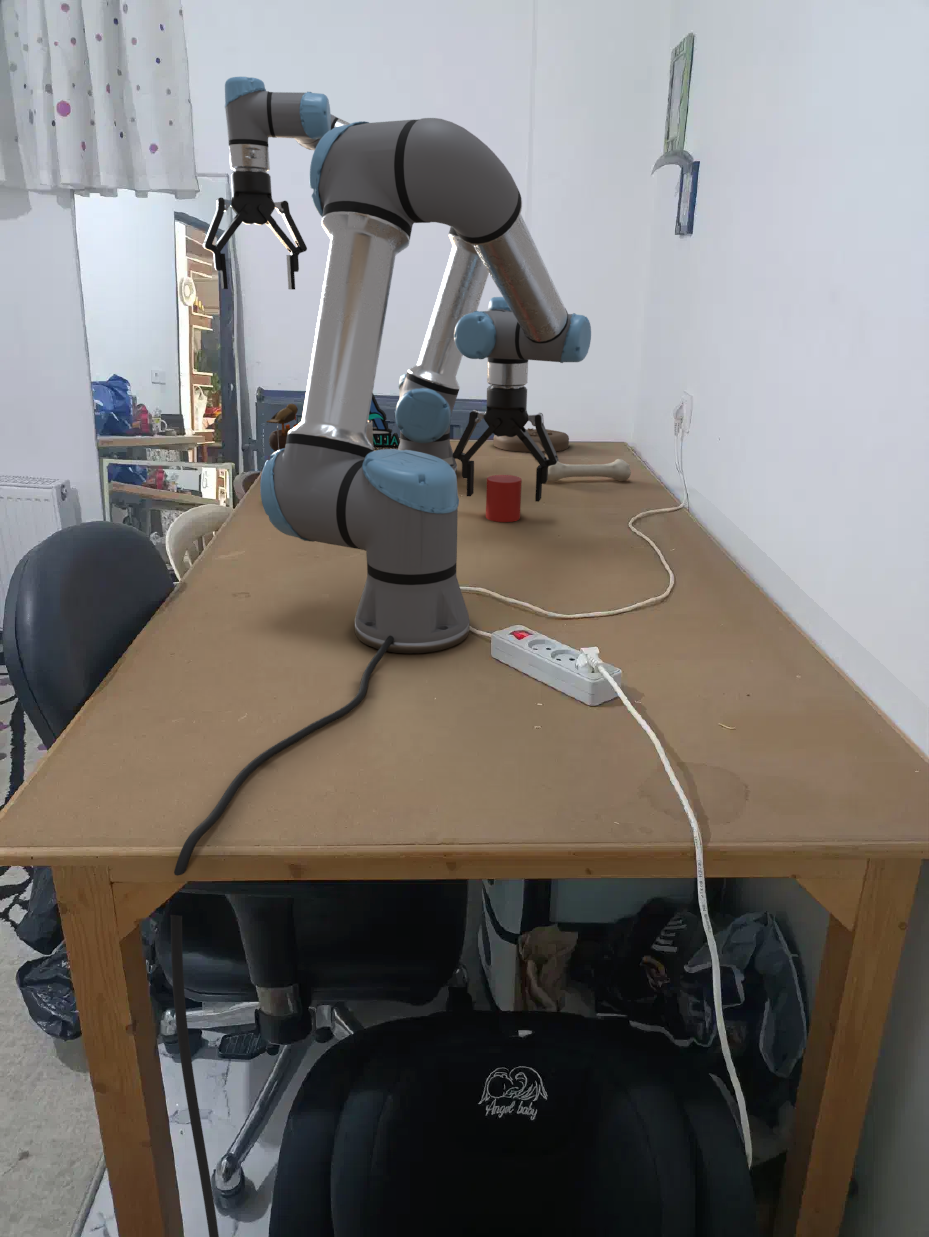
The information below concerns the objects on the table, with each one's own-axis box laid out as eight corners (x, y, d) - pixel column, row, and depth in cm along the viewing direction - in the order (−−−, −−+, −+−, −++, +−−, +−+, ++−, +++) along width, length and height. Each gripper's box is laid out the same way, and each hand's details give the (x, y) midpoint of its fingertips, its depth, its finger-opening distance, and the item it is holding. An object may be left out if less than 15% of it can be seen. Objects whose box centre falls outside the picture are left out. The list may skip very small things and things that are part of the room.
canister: (514, 523, 162) (515, 484, 159) (481, 520, 164) (482, 480, 162) (524, 515, 168) (525, 476, 165) (491, 511, 170) (492, 473, 167)
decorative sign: (401, 445, 233) (400, 389, 227) (399, 446, 230) (399, 390, 225) (333, 443, 234) (330, 387, 228) (331, 445, 231) (328, 388, 226)
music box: (312, 509, 169) (298, 407, 161) (260, 512, 170) (243, 411, 162) (332, 491, 183) (320, 396, 175) (283, 493, 184) (269, 399, 176)
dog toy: (623, 476, 201) (625, 455, 199) (632, 482, 195) (634, 461, 193) (540, 478, 198) (541, 457, 196) (547, 484, 192) (548, 462, 190)
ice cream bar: (499, 460, 215) (500, 444, 214) (491, 440, 241) (491, 425, 240) (581, 461, 216) (582, 444, 215) (564, 441, 242) (565, 426, 241)
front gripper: (576, 386, 157) (570, 497, 166) (447, 380, 163) (447, 488, 171) (571, 391, 151) (564, 507, 159) (437, 385, 156) (437, 497, 165)
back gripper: (186, 166, 156) (198, 289, 164) (318, 174, 166) (323, 290, 174) (181, 169, 162) (192, 288, 170) (308, 177, 172) (313, 289, 180)
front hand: (503, 497), depth 165 cm, fingers open, 13 cm apart
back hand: (258, 289), depth 172 cm, fingers open, 13 cm apart
